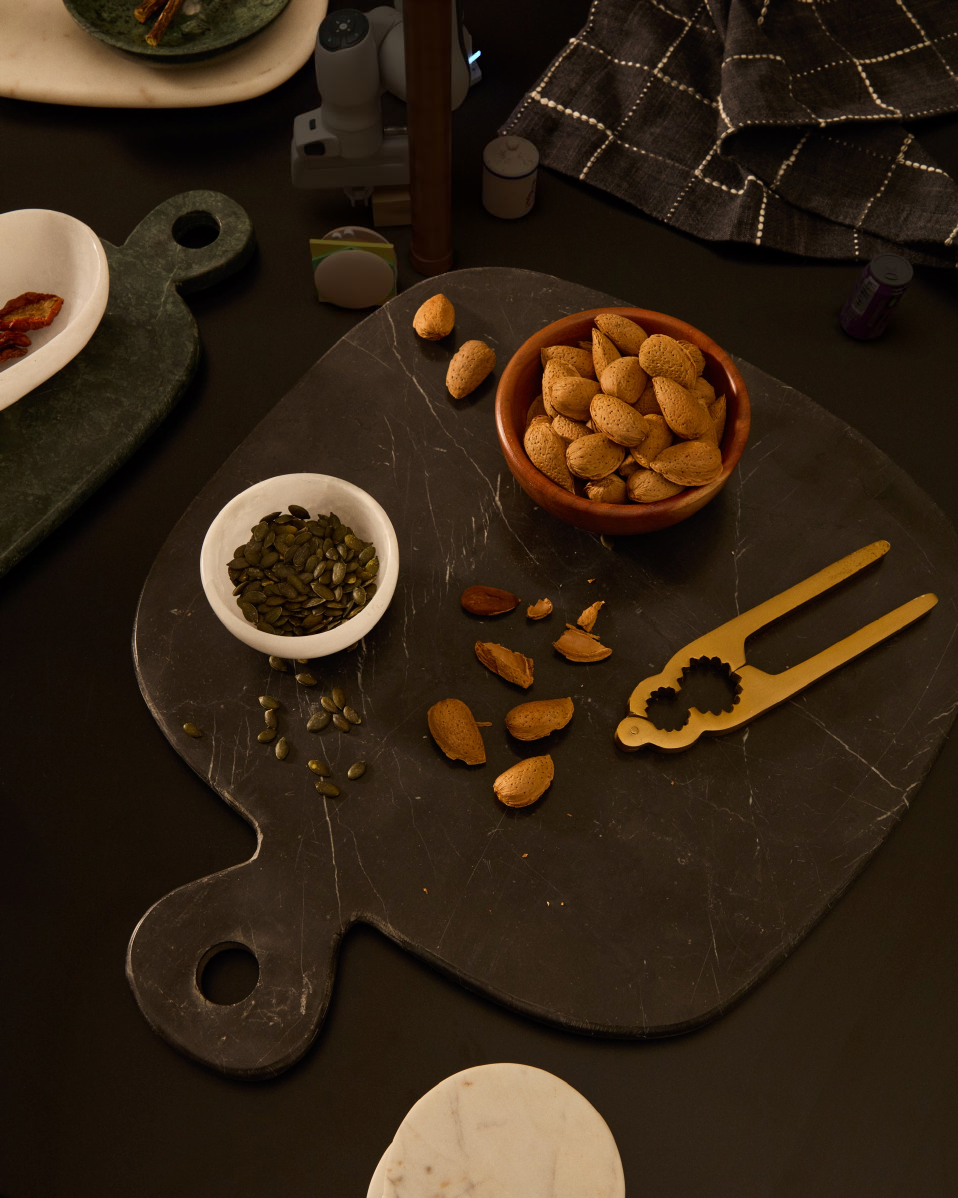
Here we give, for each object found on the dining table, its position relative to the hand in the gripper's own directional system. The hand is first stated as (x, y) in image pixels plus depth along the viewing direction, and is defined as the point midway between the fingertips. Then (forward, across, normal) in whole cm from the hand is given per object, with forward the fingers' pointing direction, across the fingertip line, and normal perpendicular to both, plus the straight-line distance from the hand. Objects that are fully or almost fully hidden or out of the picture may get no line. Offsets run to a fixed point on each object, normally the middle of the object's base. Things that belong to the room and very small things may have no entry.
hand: (359, 203), depth 157 cm
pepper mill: (+2, -10, +11) cm, 15 cm away
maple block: (+2, -5, 0) cm, 5 cm away
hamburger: (+3, +1, +17) cm, 17 cm away
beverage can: (+2, -76, +30) cm, 82 cm away
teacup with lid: (+2, -24, -2) cm, 25 cm away
